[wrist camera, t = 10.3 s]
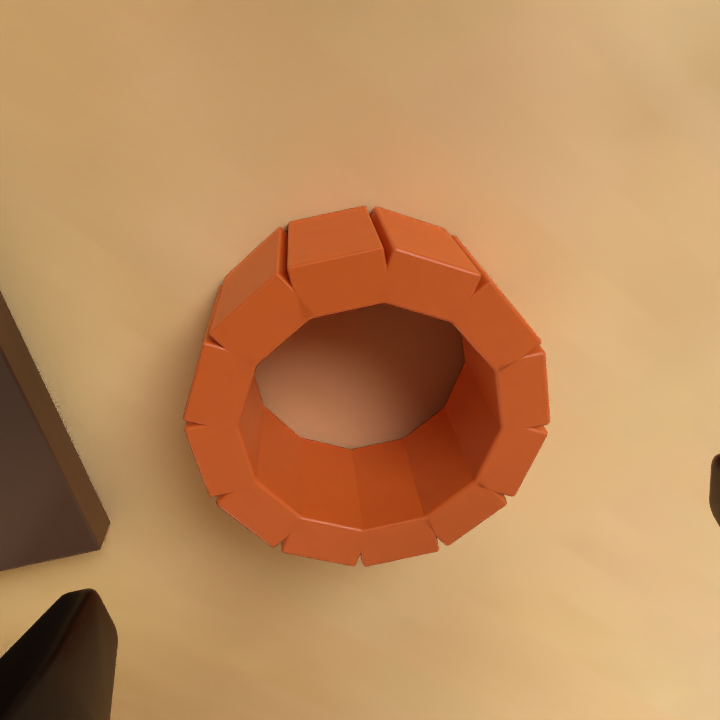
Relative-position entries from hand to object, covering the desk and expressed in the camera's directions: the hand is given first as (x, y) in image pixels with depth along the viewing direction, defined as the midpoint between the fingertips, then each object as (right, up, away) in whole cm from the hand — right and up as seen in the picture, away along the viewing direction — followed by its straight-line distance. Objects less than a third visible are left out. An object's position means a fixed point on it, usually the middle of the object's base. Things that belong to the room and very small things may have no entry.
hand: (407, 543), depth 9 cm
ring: (-1, +3, +6) cm, 6 cm away
